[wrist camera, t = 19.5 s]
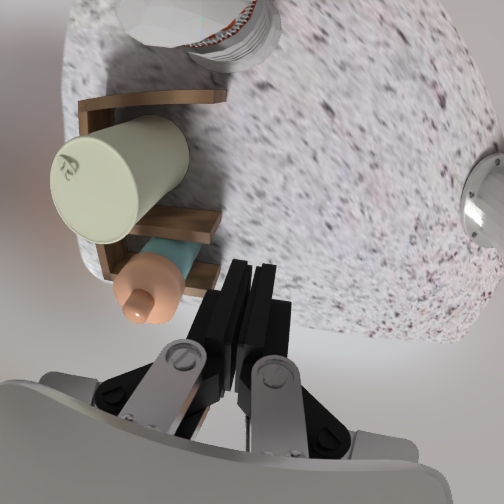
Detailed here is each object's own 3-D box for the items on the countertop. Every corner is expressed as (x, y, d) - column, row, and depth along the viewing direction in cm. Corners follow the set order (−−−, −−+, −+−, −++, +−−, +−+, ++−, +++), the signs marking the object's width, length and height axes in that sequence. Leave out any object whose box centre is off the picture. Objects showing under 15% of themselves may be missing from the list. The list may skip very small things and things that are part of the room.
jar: (201, 220, 32) (178, 259, 26) (202, 261, 35) (182, 304, 29) (156, 215, 33) (125, 251, 26) (160, 255, 36) (134, 295, 29)
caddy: (226, 89, 24) (213, 89, 20) (219, 272, 36) (210, 298, 32) (105, 96, 25) (77, 101, 21) (121, 257, 37) (104, 279, 33)
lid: (183, 257, 25) (163, 293, 21) (186, 308, 29) (171, 345, 25) (122, 247, 26) (96, 278, 21) (132, 297, 29) (112, 329, 25)
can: (149, 97, 25) (76, 111, 15) (207, 157, 28) (160, 200, 18) (103, 155, 29) (33, 193, 19) (153, 209, 32) (99, 266, 22)
